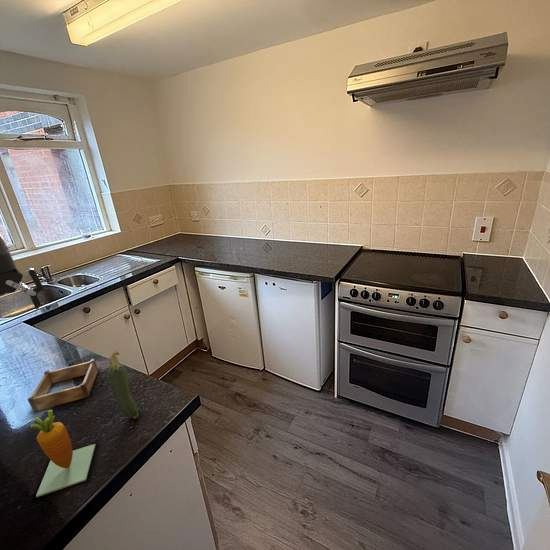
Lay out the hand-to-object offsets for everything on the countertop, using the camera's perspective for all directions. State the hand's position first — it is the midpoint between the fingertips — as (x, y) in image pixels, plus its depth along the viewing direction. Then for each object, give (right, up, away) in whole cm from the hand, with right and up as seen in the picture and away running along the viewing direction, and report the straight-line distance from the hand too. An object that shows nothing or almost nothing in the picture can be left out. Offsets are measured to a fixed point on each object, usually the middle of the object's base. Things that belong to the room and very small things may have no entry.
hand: (16, 314), depth 76 cm
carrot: (+20, -32, -10) cm, 39 cm away
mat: (+20, -32, -10) cm, 40 cm away
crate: (+3, -24, +14) cm, 28 cm away
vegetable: (+29, -27, +2) cm, 39 cm away
